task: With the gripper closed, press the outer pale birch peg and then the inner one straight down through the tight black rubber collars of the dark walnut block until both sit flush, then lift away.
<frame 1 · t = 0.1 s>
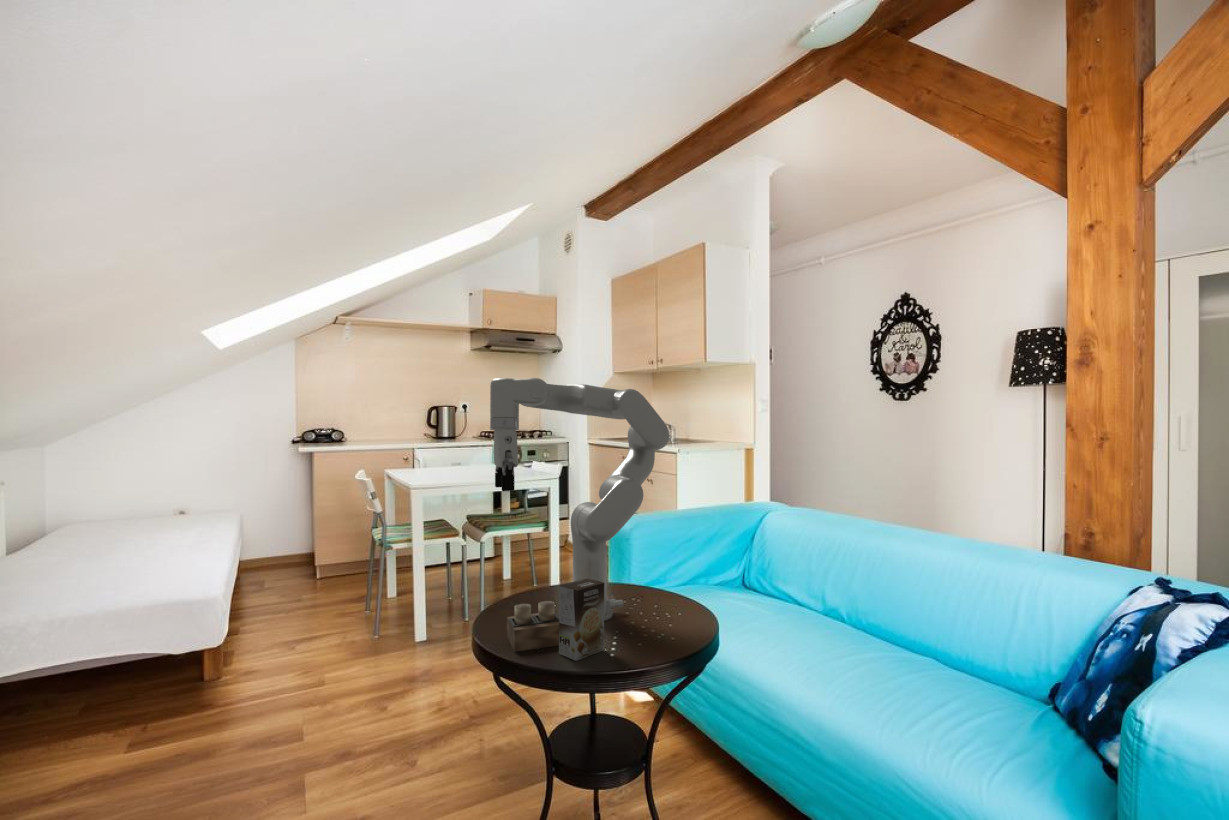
hand: (504, 488, 151), 37 cm above the table, tool pointing down, fingers open, 9 cm apart
press block: (534, 640, 141), on the table
coffee box: (581, 653, 134), on the table
peg inner: (546, 612, 142), point 7 cm above the table, slide at 0.0 cm
peg outer: (522, 615, 140), point 7 cm above the table, slide at 0.0 cm
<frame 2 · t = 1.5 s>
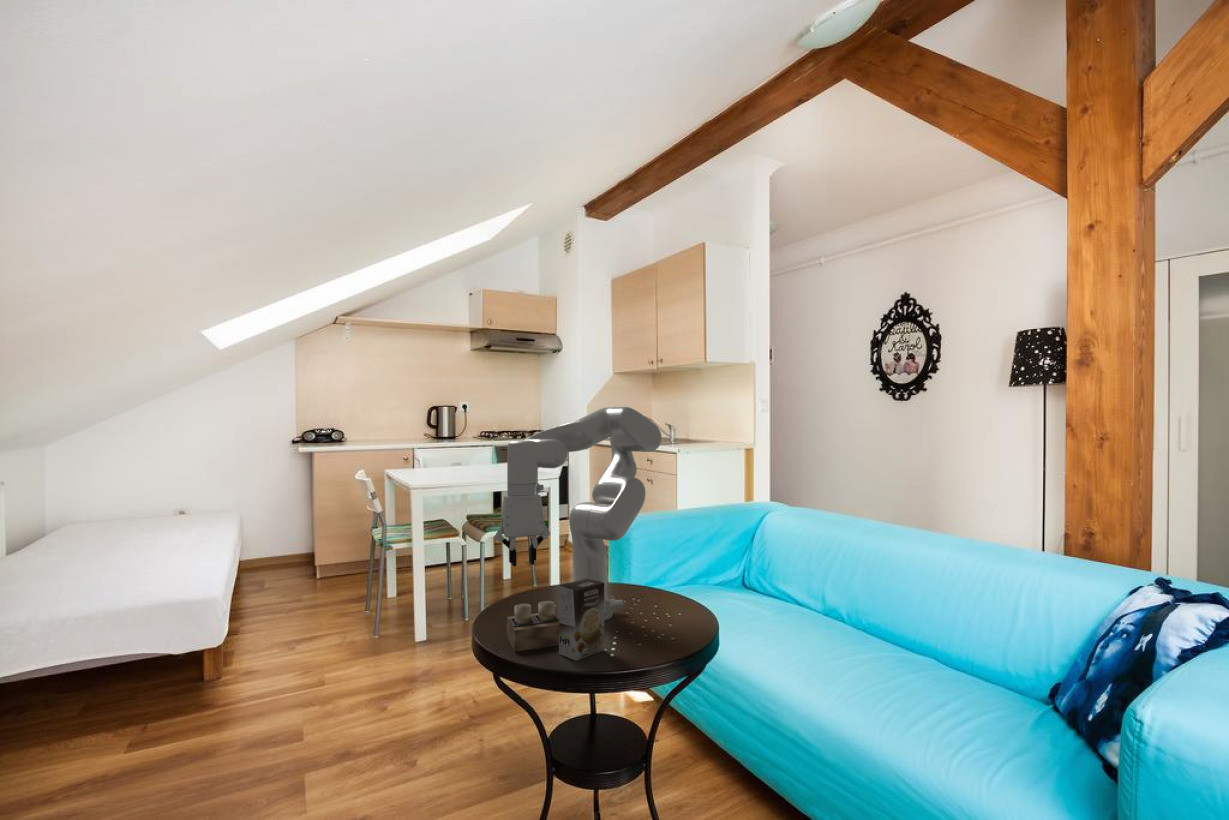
hand: (522, 563, 140), 19 cm above the table, tool pointing down, fingers open, 3 cm apart
nothing on the table moved.
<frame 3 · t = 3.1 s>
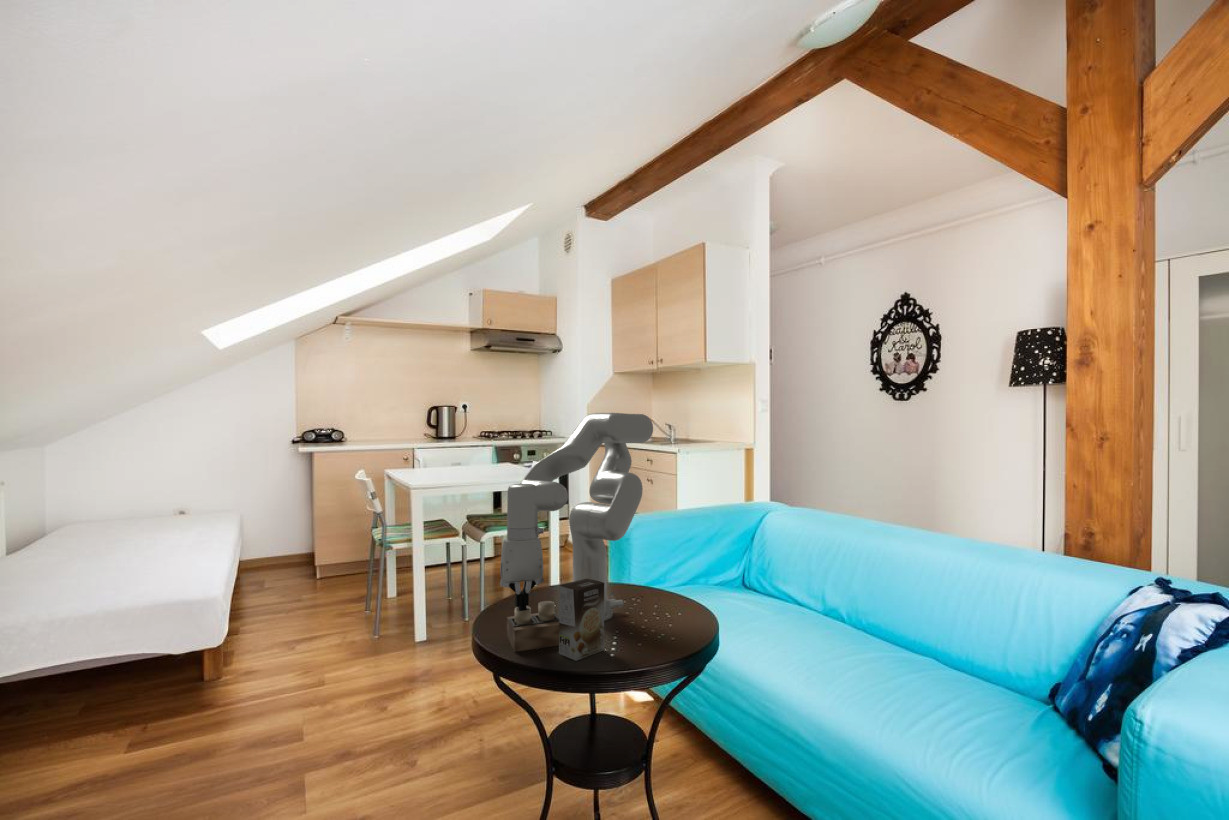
hand: (521, 608, 140), 8 cm above the table, tool pointing down, fingers closed
peg outer: (522, 617, 140), point 6 cm above the table, slide at 0.5 cm, touching gripper
everything else where it was.
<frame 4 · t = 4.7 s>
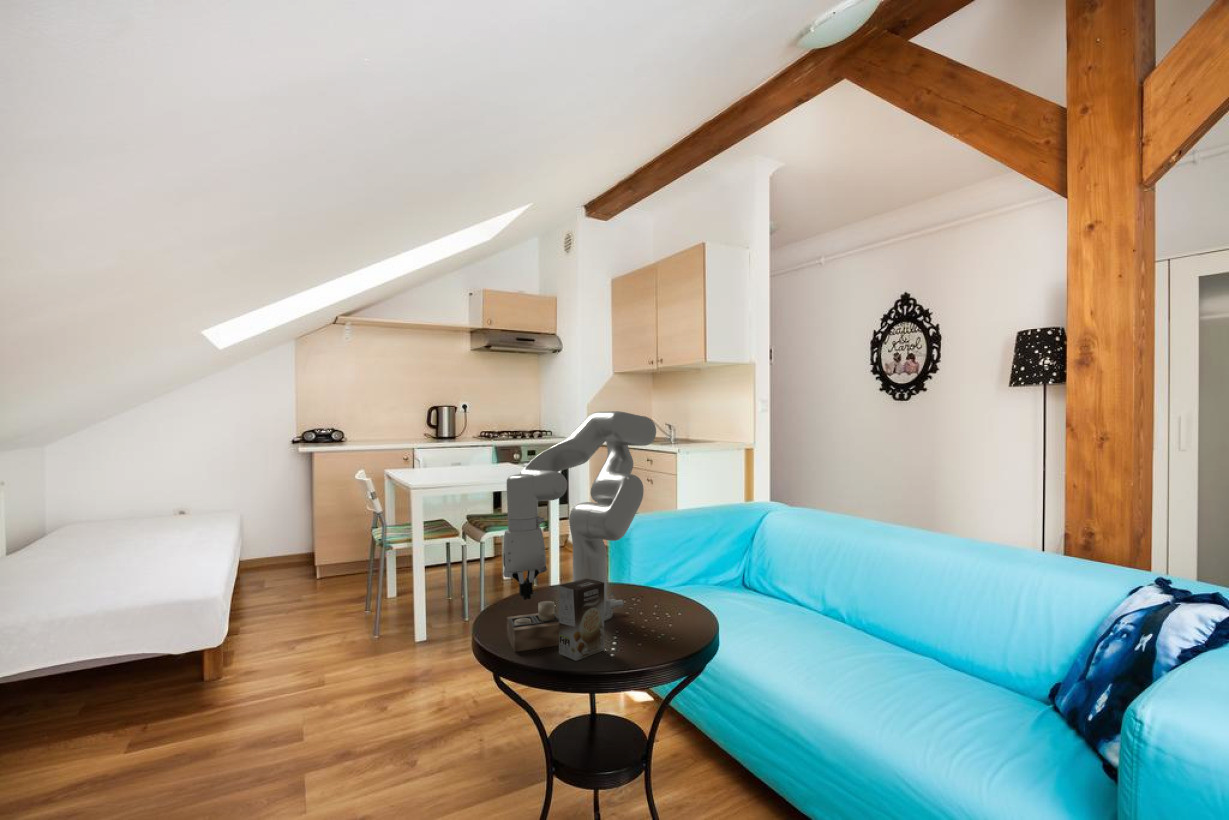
hand: (526, 597, 141), 11 cm above the table, tool pointing down, fingers closed
peg outer: (522, 630, 140), point 3 cm above the table, slide at 3.5 cm
everything else where it was.
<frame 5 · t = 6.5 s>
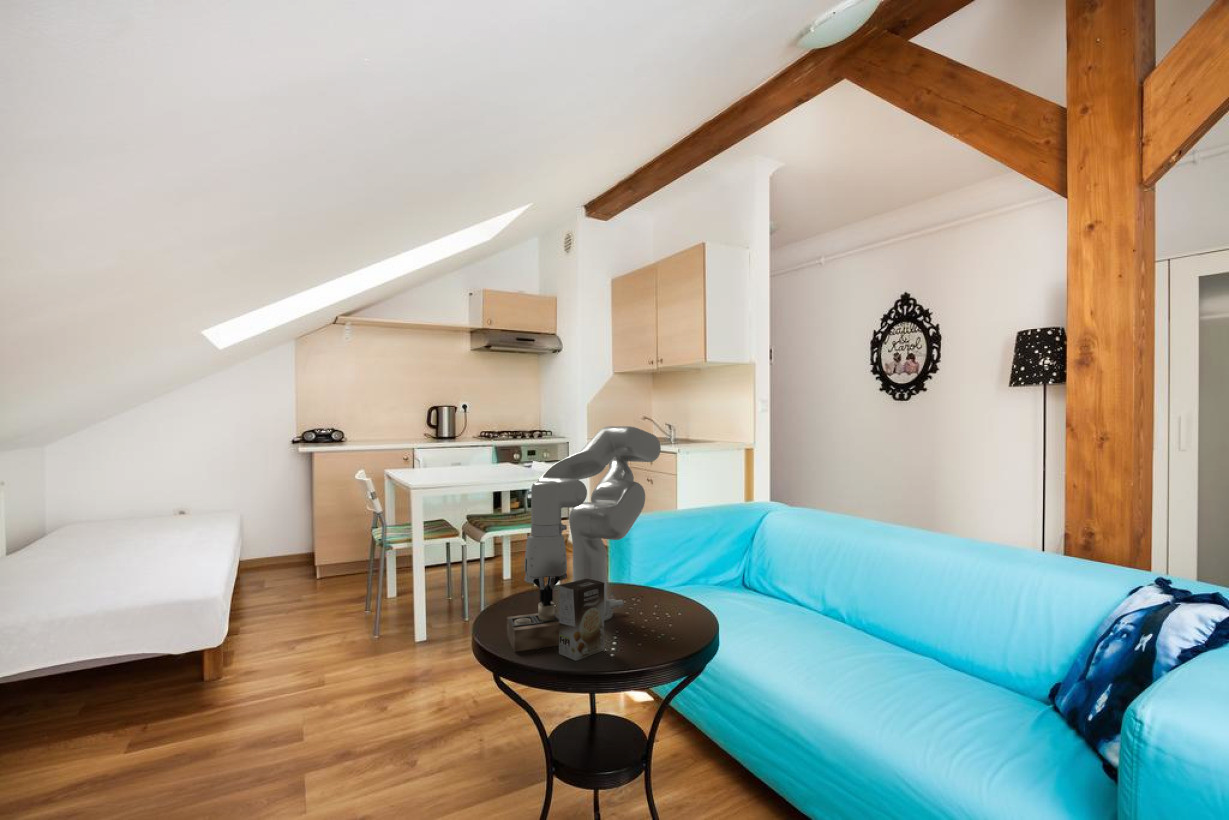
hand: (545, 604, 142), 9 cm above the table, tool pointing down, fingers closed
peg inner: (546, 613, 142), point 6 cm above the table, slide at 0.1 cm, touching gripper
everything else where it was.
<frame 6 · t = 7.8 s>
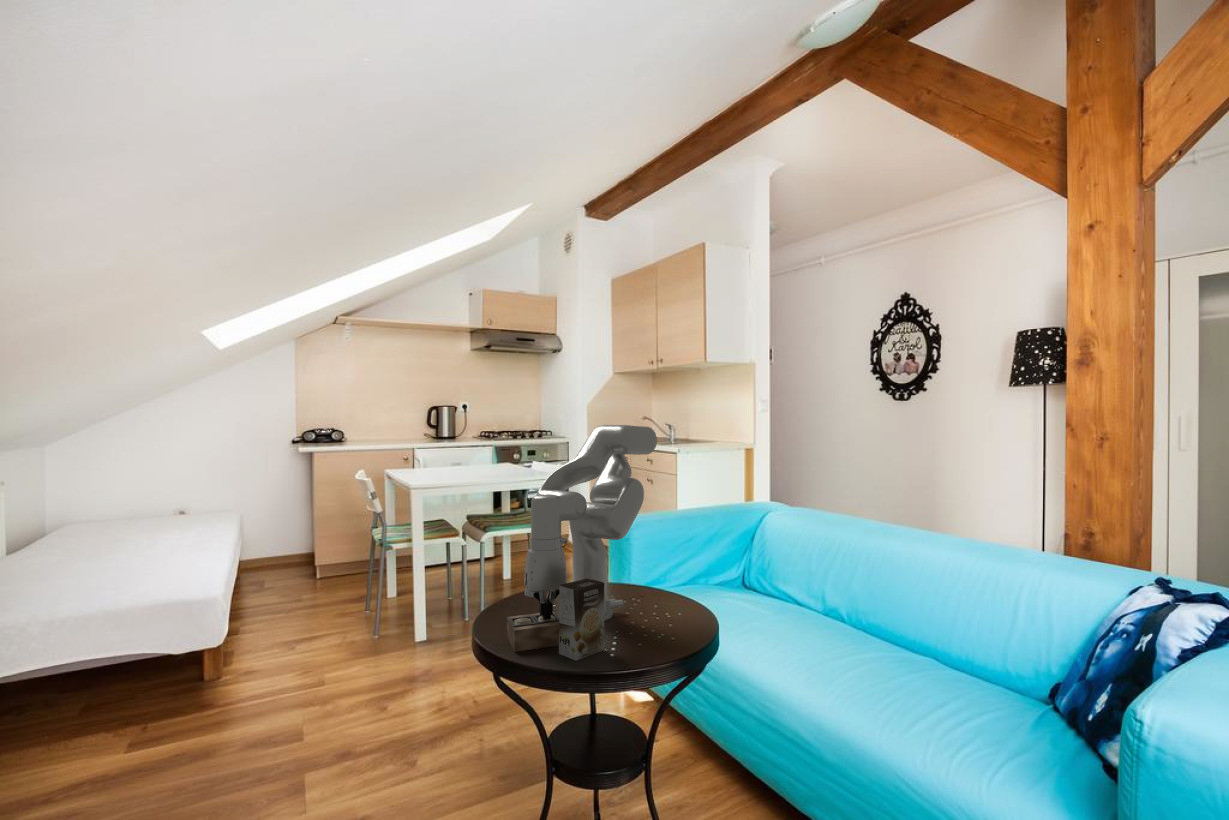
hand: (546, 617, 142), 5 cm above the table, tool pointing down, fingers closed
peg inner: (546, 626, 142), point 3 cm above the table, slide at 3.5 cm
everything else where it was.
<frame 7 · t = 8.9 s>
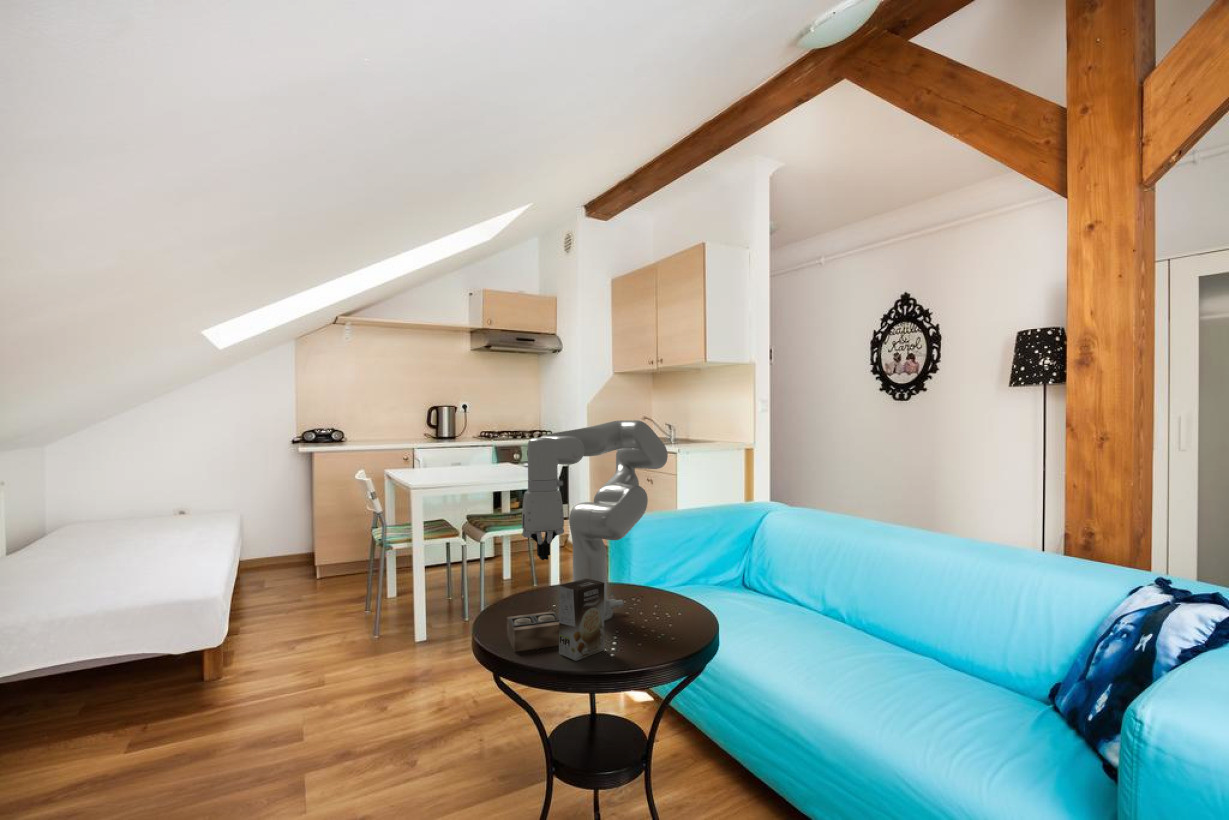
hand: (543, 558, 144), 20 cm above the table, tool pointing down, fingers closed
nothing on the table moved.
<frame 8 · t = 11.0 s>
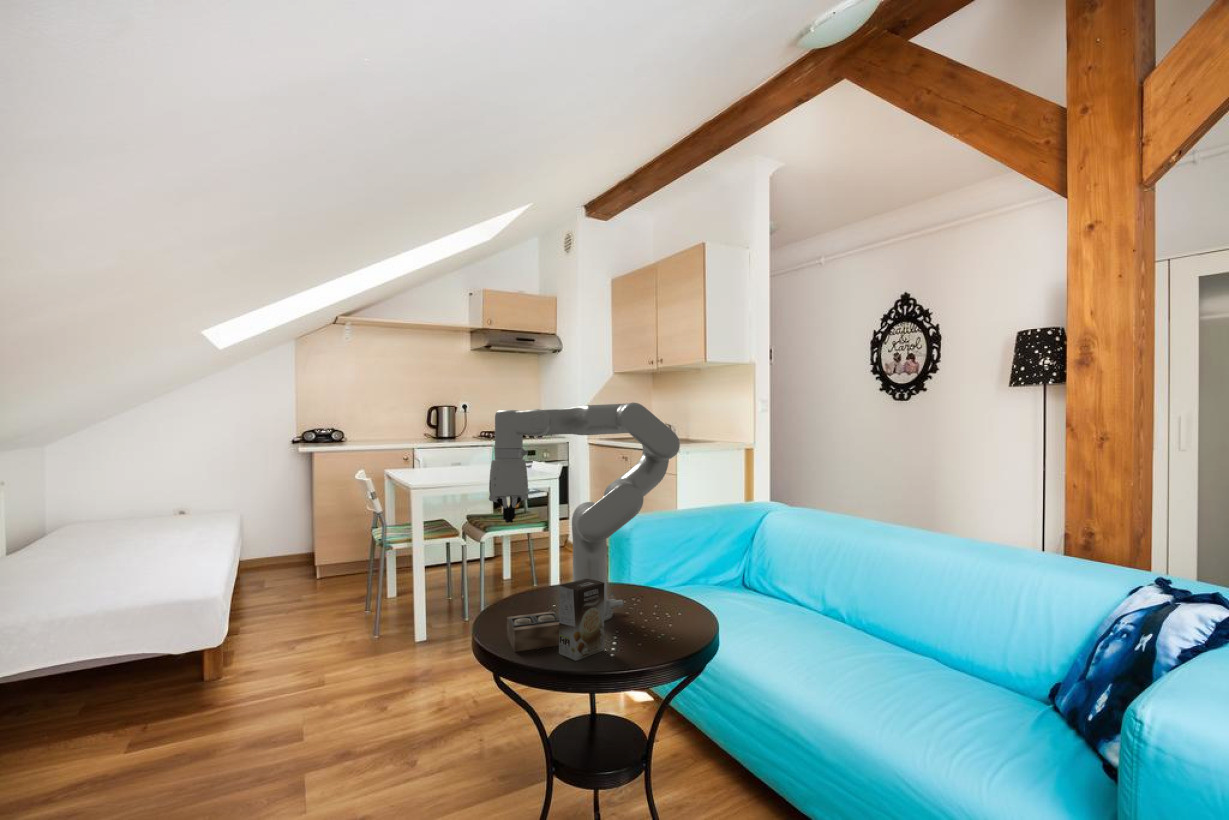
hand: (508, 521, 155), 27 cm above the table, tool pointing down, fingers closed
nothing on the table moved.
at the end: peg outer slide at 3.5 cm; peg inner slide at 3.5 cm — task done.
